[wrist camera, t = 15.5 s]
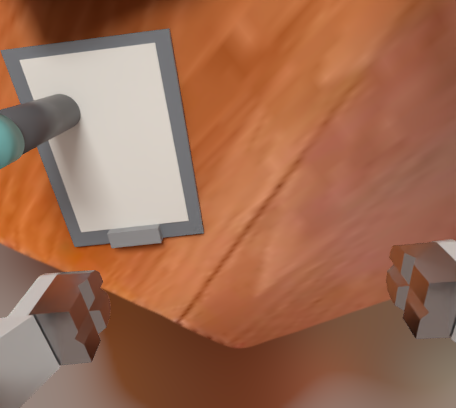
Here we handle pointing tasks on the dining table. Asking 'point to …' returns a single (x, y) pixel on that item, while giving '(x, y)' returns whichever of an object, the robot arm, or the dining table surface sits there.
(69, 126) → the marker
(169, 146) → the clipboard
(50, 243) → the dining table surface
